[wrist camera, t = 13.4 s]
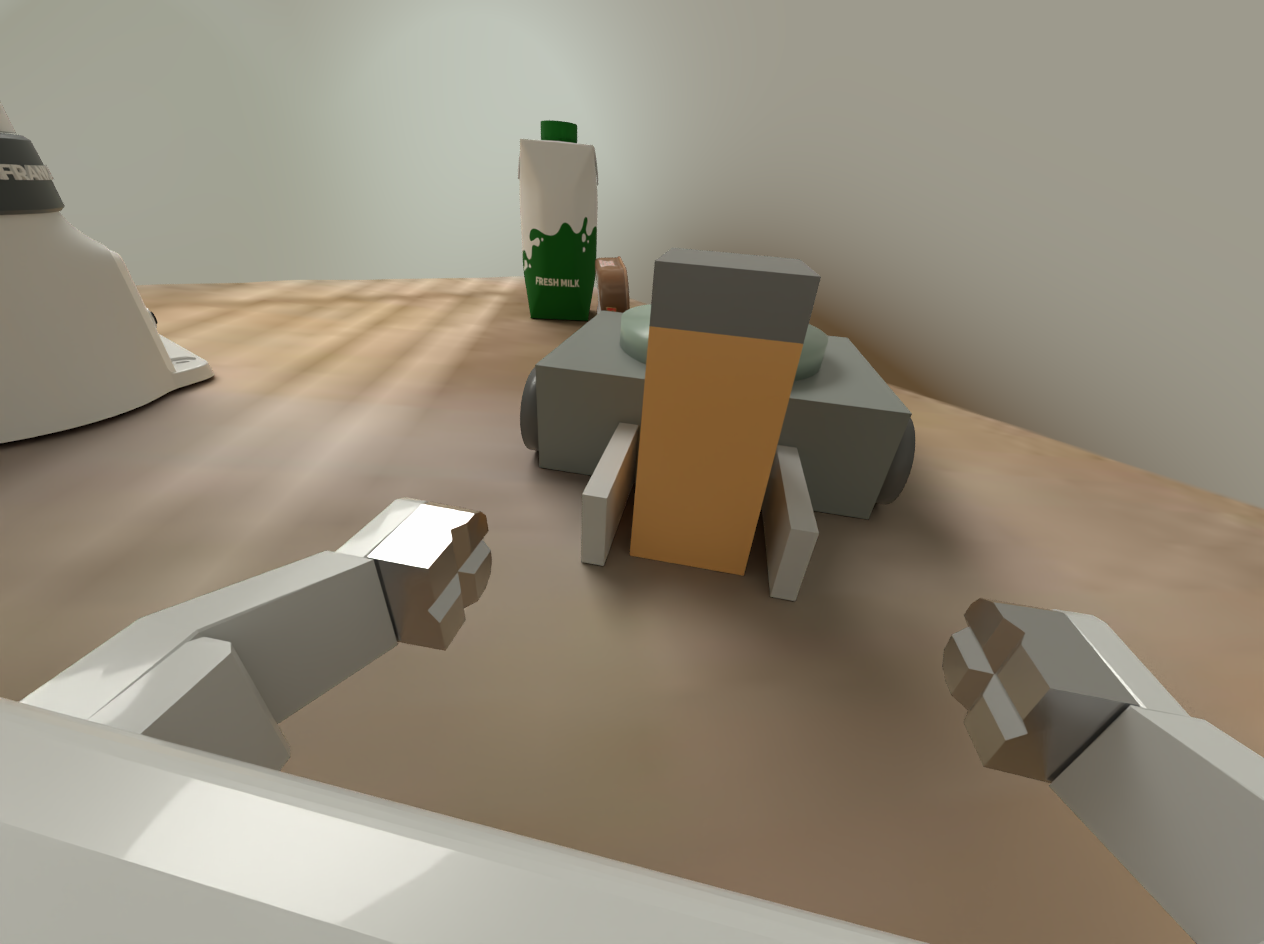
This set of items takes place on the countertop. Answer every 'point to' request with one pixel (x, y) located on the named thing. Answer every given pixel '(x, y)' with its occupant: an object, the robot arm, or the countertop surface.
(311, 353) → the countertop surface
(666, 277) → the orange gray block
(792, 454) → the gray toy machine
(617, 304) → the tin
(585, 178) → the milk carton
